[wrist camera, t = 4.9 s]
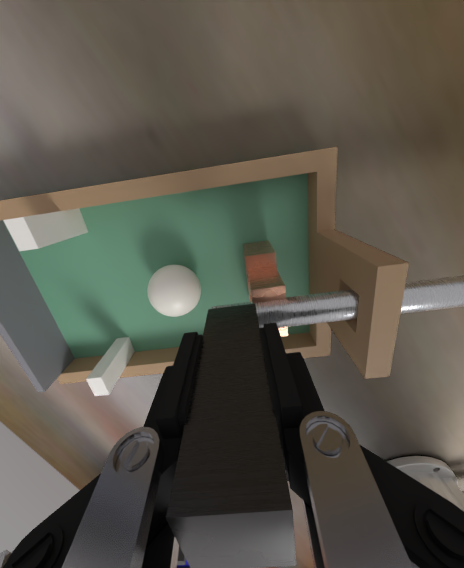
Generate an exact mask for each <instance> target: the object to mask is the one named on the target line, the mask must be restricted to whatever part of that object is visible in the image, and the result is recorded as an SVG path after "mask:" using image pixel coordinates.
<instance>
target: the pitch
mask: <svg viewBox="0 0 464 568" xmlns="http://www.w3.org/2000/svg"><path fill="white" fill-rule="evenodd" d="M337 149H338V147H331V148H325V149H319V150H313V151H306V152H300V153H294V154H288V155H281V156H275V157H269V158H263V159H256V160H250V161H244V162H238V163H231V164H225V165H219V166H213V167H207V168H200V169H194V170H188V171H182V172H175V173H169V174H163V175H157V176H150V177H144V178H138V179H132V180H125V181H119V182H113V183H107V184H100V185H94V186H88V187H82V188H75V189H69V190H63V191H57V192H50V193H44V194H38V195H32V196H25V197H19V198H13V199H7V200H1V201H0V335H1V336H2V338H3V339H4V341H5V342H6V344H7V346H8V347H9V349H10V350H11V352H12V353H13V355H14V356H15V358H16V359H17V361H18V362H19V364H20V366H21V367H22V369H23V370H24V372H25V373H26V375H27V376H28V378H29V379H30V381H31V382H32V384H33V386H34V387H35V389H36V390H37V392H45V391H46V390H47V389H48V388H49V387H50V385H51V384H52V383H53V382H54V381H55V380H56V379H58V380H59V382H60V384H66V383H75V382H85V381H87V382H88V384H89V386H90V388H91V390H92V391H93V393H94V395H95V396H100V395H110V393H111V391H112V389H113V388H114V386H115V384H116V383H117V381H118V379H119V378H123V377H132V376H142V375H151V374H160V373H164V370H165V368H166V367H167V366H172V365H173V364H174V361H175V358H176V355H177V352H178V349H179V346H180V343H181V340H182V337H183V334H184V333H189V332H198V335H201V334H202V335H203V332H204V327H205V322H206V317H207V313H208V309H211V307H212V306H220V305H228V304H236V303H244V302H250V299H249V291H248V283H247V275H246V267H245V259H244V251H243V244H246V243H253V242H260V241H269V242H270V244H271V245H272V247H273V249H274V250H275V252H276V263H277V270H278V272H279V274H280V276H281V278H282V280H283V282H284V284H285V289H286V297H293V296H301V295H310V294H318V293H326V292H334V291H342V290H351V289H352V290H353V291H354V292H356V293H357V294H358V295H359V304H358V316H357V319H351V320H343V321H334V322H325V323H316V324H308V325H299V326H290V327H288V336H282V337H281V339H282V342H283V345H284V349H285V352H286V353H295V352H300V353H301V354H302V356H303V358H312V357H321V356H330V351H331V329H332V331H333V332H334V334H335V335H336V337H337V338H338V340H339V341H340V343H341V344H342V346H343V347H344V349H345V350H346V352H347V353H348V355H349V356H350V358H351V359H352V361H353V362H354V364H355V365H356V366H357V368H358V369H359V371H360V372H361V374H362V375H363V377H364V378H365V379H370V378H380V377H390V371H391V366H392V360H393V354H394V348H395V342H396V336H397V330H398V325H399V319H400V313H401V307H402V301H403V295H404V290H405V284H406V278H407V272H408V266H409V263H408V262H406V261H404V260H402V259H399V258H397V257H395V256H393V255H390V254H388V253H386V252H384V251H381V250H379V249H377V248H375V247H372V246H370V245H368V244H366V243H363V242H361V241H359V240H357V239H355V238H352V237H350V236H348V235H346V234H343V233H341V232H339V231H337V230H335V207H336V178H337ZM167 265H181V266H185V267H187V268H189V269H190V270H191V271H193V272H194V273H195V275H196V276H197V278H198V279H199V282H200V285H201V296H200V299H199V302H198V304H197V305H196V306H195V308H194V309H193V310H192V311H190V312H189V313H187V314H185V315H182V316H178V317H171V316H166V315H163V314H161V313H159V312H158V311H157V310H156V309H155V308H154V307H153V306H152V305H151V303H150V301H149V298H148V293H147V288H148V283H149V281H150V279H151V277H152V276H153V274H154V273H155V272H156V271H157V270H159V269H160V268H162V267H164V266H167Z"/></svg>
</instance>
